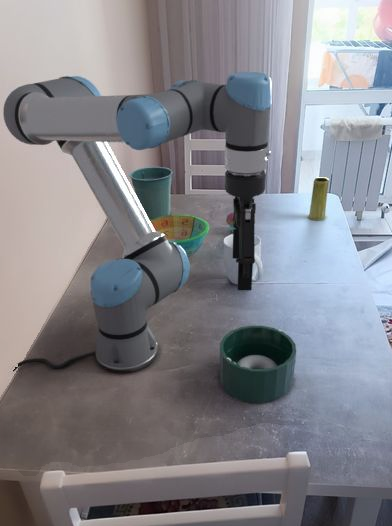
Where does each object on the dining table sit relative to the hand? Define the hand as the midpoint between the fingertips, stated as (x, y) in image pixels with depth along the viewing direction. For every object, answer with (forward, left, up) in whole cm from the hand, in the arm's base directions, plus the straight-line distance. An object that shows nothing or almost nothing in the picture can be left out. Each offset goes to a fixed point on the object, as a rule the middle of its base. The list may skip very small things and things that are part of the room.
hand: (241, 272), depth 101 cm
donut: (0, -7, -24) cm, 25 cm away
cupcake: (+44, +62, -24) cm, 80 cm away
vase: (+76, +55, -24) cm, 97 cm away
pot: (0, -7, -24) cm, 25 cm away
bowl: (+16, +58, -24) cm, 65 cm away
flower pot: (+27, +95, -24) cm, 102 cm away
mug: (+24, +31, -24) cm, 46 cm away
